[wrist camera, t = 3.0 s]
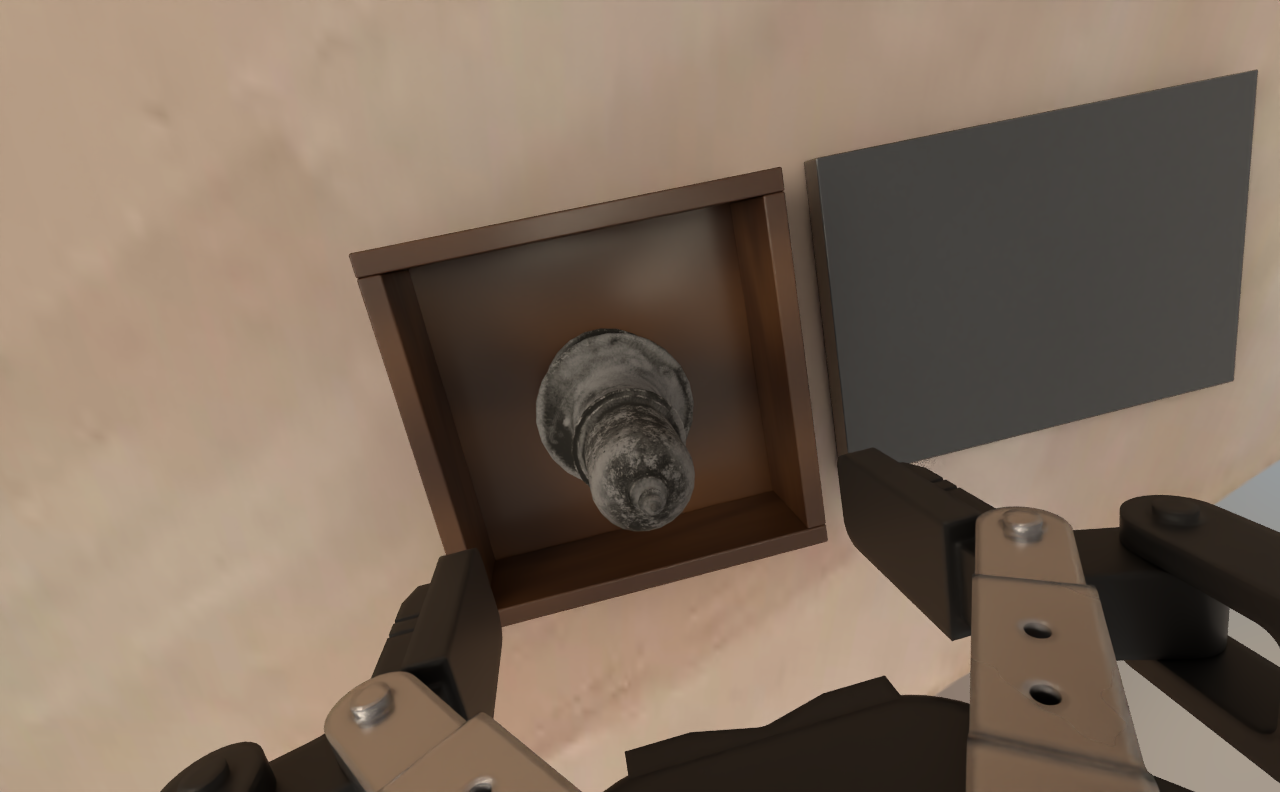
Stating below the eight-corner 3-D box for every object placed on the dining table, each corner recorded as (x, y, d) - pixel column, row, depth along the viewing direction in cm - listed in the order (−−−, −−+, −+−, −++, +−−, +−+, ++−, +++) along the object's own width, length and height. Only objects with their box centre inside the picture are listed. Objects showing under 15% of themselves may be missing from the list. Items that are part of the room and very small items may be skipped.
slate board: (803, 162, 25) (815, 158, 24) (1228, 76, 27) (1258, 68, 25) (838, 469, 28) (850, 478, 27) (1208, 375, 30) (1234, 381, 29)
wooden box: (384, 252, 23) (347, 253, 19) (742, 179, 25) (782, 166, 20) (483, 575, 27) (471, 636, 23) (787, 497, 28) (828, 541, 24)
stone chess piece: (697, 353, 26) (817, 441, 14) (640, 473, 27) (710, 647, 15) (570, 298, 24) (588, 345, 13) (516, 426, 25) (488, 578, 14)
